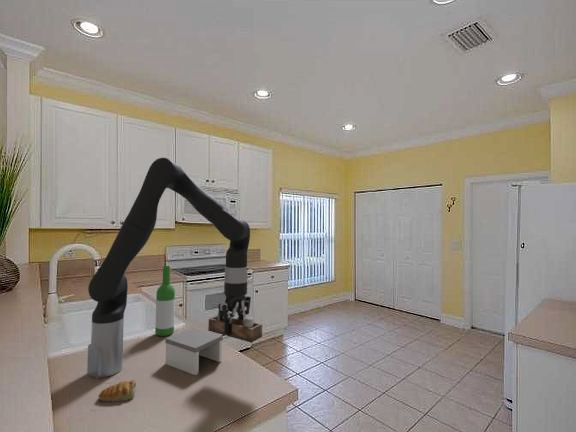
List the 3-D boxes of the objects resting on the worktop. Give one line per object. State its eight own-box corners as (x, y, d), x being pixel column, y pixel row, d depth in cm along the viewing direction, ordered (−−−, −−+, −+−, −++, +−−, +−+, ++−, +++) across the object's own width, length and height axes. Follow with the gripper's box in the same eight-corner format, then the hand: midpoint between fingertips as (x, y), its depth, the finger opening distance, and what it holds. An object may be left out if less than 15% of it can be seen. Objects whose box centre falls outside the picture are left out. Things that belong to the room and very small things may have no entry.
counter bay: (194, 375, 99) (195, 348, 99) (164, 364, 106) (165, 338, 106) (222, 360, 110) (222, 335, 110) (193, 350, 118) (193, 327, 118)
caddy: (261, 336, 97) (262, 318, 97) (251, 342, 92) (251, 322, 92) (219, 325, 106) (220, 308, 106) (208, 330, 101) (208, 312, 101)
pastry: (96, 407, 82) (96, 392, 82) (101, 394, 88) (101, 380, 88) (135, 400, 85) (135, 386, 86) (136, 387, 92) (137, 375, 92)
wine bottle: (169, 329, 140) (171, 264, 140) (176, 333, 134) (178, 266, 135) (152, 333, 134) (154, 266, 135) (159, 338, 129) (161, 268, 129)
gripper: (230, 285, 91) (228, 341, 91) (258, 278, 104) (256, 327, 103) (211, 282, 95) (210, 336, 95) (240, 275, 107) (239, 323, 107)
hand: (234, 331), depth 99 cm, fingers closed on caddy, 5 cm apart
